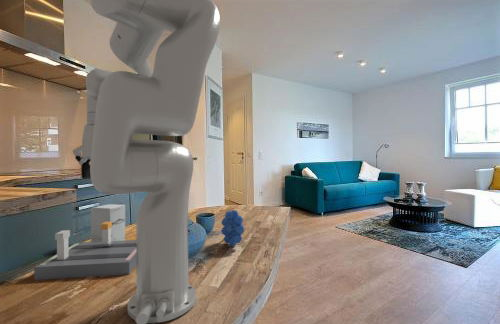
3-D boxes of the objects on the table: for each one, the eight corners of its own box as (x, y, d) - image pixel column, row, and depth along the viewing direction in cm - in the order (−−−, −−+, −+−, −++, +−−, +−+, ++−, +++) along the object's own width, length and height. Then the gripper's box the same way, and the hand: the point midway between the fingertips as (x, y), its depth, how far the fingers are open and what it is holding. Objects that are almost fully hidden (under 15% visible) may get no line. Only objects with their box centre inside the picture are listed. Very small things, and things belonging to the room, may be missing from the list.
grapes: (253, 248, 77) (253, 210, 76) (236, 253, 72) (236, 213, 72) (233, 238, 86) (233, 205, 86) (216, 242, 82) (216, 207, 81)
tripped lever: (109, 246, 69) (108, 223, 69) (99, 246, 69) (99, 224, 69) (113, 242, 72) (113, 221, 72) (104, 243, 71) (104, 221, 71)
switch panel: (129, 274, 59) (129, 234, 59) (34, 279, 56) (34, 238, 56) (148, 249, 76) (148, 217, 76) (76, 252, 73) (76, 220, 73)
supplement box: (109, 247, 77) (109, 208, 77) (90, 246, 79) (89, 207, 79) (126, 240, 84) (125, 204, 84) (107, 239, 86) (107, 203, 86)
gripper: (136, 122, 75) (137, 177, 76) (83, 123, 76) (83, 177, 76) (123, 118, 68) (123, 179, 68) (63, 118, 69) (64, 179, 69)
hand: (102, 178), depth 72 cm, fingers open, 9 cm apart
